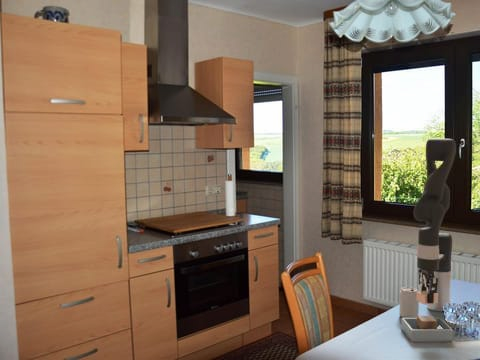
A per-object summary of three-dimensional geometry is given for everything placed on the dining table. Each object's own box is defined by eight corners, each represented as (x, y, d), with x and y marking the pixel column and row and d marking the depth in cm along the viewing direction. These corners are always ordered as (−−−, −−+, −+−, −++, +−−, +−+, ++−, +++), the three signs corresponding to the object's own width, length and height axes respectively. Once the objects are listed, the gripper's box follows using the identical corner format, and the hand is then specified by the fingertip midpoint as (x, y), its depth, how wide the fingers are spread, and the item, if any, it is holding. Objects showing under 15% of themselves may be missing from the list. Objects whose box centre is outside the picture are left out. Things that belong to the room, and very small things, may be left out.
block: (421, 336, 179) (421, 321, 179) (416, 330, 185) (417, 315, 184) (436, 336, 179) (437, 321, 179) (431, 330, 185) (431, 315, 184)
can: (419, 320, 197) (420, 292, 196) (400, 319, 198) (401, 291, 197) (416, 314, 204) (417, 286, 203) (398, 313, 205) (398, 285, 204)
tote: (401, 329, 188) (401, 317, 188) (440, 329, 188) (440, 317, 187) (411, 342, 176) (411, 330, 176) (453, 342, 176) (453, 330, 176)
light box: (416, 300, 182) (416, 291, 182) (429, 299, 184) (429, 290, 184) (424, 304, 178) (424, 295, 177) (437, 302, 180) (438, 293, 179)
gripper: (446, 260, 172) (444, 307, 174) (431, 251, 187) (430, 294, 188) (424, 261, 172) (423, 307, 174) (411, 251, 187) (410, 294, 188)
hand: (427, 300), depth 181 cm, fingers closed on light box, 5 cm apart
